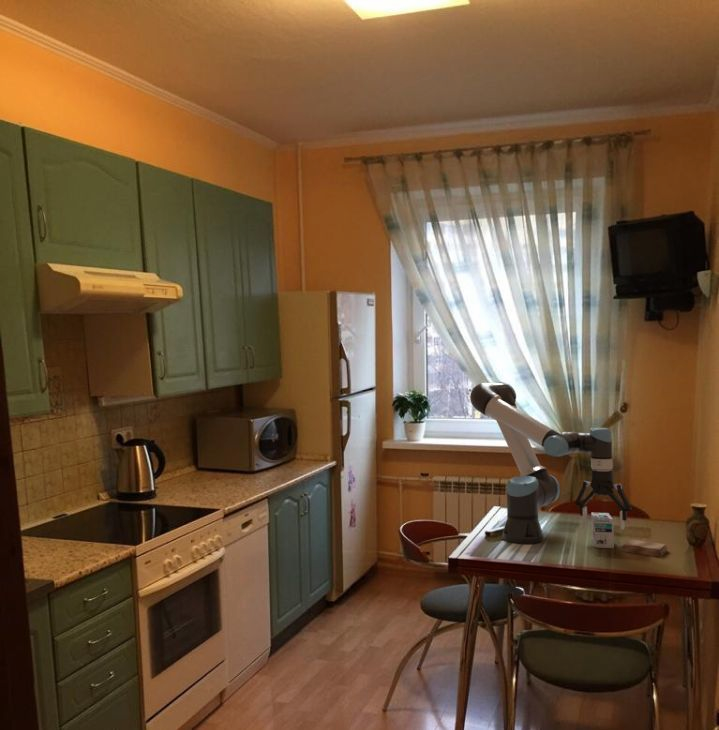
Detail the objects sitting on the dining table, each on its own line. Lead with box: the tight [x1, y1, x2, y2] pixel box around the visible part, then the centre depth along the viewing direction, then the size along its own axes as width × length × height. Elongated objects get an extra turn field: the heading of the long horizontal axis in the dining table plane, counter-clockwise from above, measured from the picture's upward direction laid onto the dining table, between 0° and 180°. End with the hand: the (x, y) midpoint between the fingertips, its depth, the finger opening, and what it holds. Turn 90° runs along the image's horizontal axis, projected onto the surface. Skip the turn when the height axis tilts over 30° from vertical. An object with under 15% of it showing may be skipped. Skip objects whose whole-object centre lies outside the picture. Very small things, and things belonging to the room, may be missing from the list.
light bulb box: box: [590, 512, 615, 549], centre depth 246 cm, size 11×7×11 cm, turn 168°
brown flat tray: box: [621, 538, 668, 558], centre depth 237 cm, size 13×9×2 cm
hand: (603, 526), depth 246 cm, fingers open, 13 cm apart
